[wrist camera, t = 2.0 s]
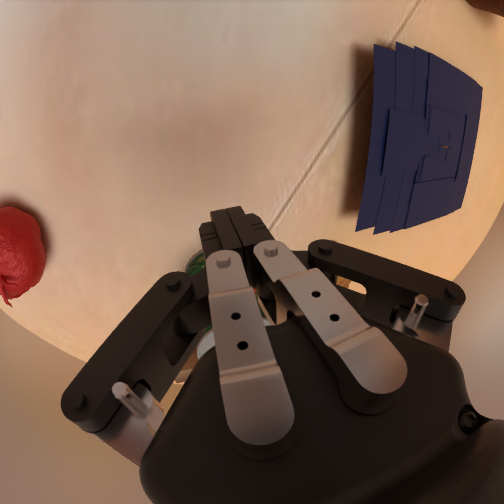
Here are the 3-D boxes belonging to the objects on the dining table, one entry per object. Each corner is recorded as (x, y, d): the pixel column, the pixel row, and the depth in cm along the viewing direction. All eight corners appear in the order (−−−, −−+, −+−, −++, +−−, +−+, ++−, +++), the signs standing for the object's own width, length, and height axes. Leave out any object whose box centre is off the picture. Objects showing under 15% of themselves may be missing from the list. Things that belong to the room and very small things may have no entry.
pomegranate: (-17, 191, 17) (-62, 236, 10) (53, 201, 21) (16, 254, 14) (-7, 265, 22) (-36, 318, 14) (56, 278, 26) (36, 339, 19)
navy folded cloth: (353, 28, 18) (380, 26, 15) (470, 82, 27) (486, 87, 25) (338, 234, 32) (357, 249, 30) (449, 202, 42) (463, 211, 39)
